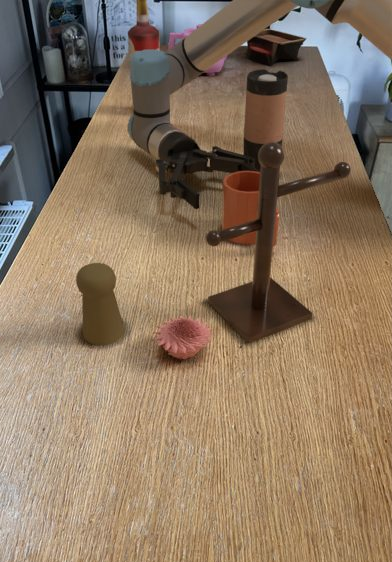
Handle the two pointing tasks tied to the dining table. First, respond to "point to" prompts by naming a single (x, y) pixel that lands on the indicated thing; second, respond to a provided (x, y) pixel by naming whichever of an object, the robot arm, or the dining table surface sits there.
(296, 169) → the dining table surface
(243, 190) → the mug
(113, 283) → the olive brown pawn
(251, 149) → the travel mug
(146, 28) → the liquor
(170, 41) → the teapot
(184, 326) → the flower
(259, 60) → the dark brown boxy piece
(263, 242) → the mug tree
